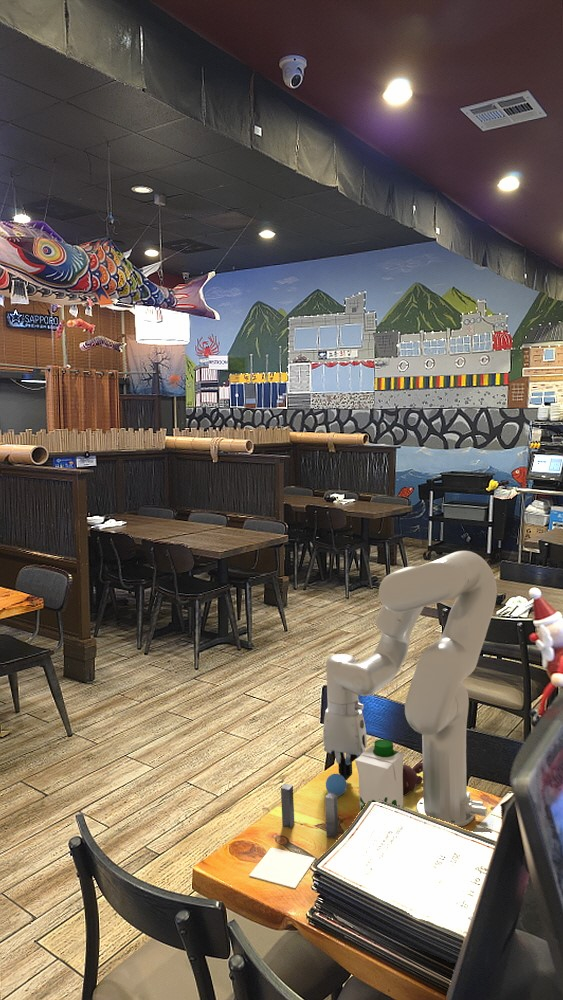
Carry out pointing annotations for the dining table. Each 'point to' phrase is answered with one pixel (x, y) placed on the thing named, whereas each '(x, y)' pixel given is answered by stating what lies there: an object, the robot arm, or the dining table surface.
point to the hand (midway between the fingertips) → (345, 777)
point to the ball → (336, 784)
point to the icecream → (411, 777)
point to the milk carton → (380, 774)
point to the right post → (331, 815)
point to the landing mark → (282, 867)
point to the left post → (287, 806)
